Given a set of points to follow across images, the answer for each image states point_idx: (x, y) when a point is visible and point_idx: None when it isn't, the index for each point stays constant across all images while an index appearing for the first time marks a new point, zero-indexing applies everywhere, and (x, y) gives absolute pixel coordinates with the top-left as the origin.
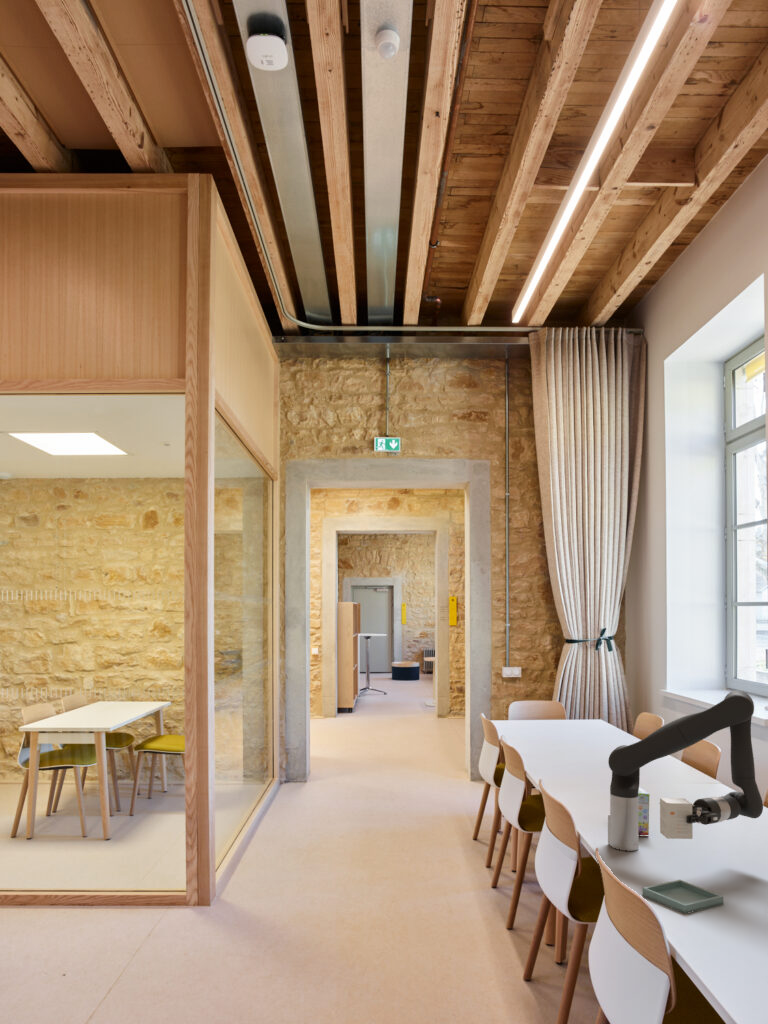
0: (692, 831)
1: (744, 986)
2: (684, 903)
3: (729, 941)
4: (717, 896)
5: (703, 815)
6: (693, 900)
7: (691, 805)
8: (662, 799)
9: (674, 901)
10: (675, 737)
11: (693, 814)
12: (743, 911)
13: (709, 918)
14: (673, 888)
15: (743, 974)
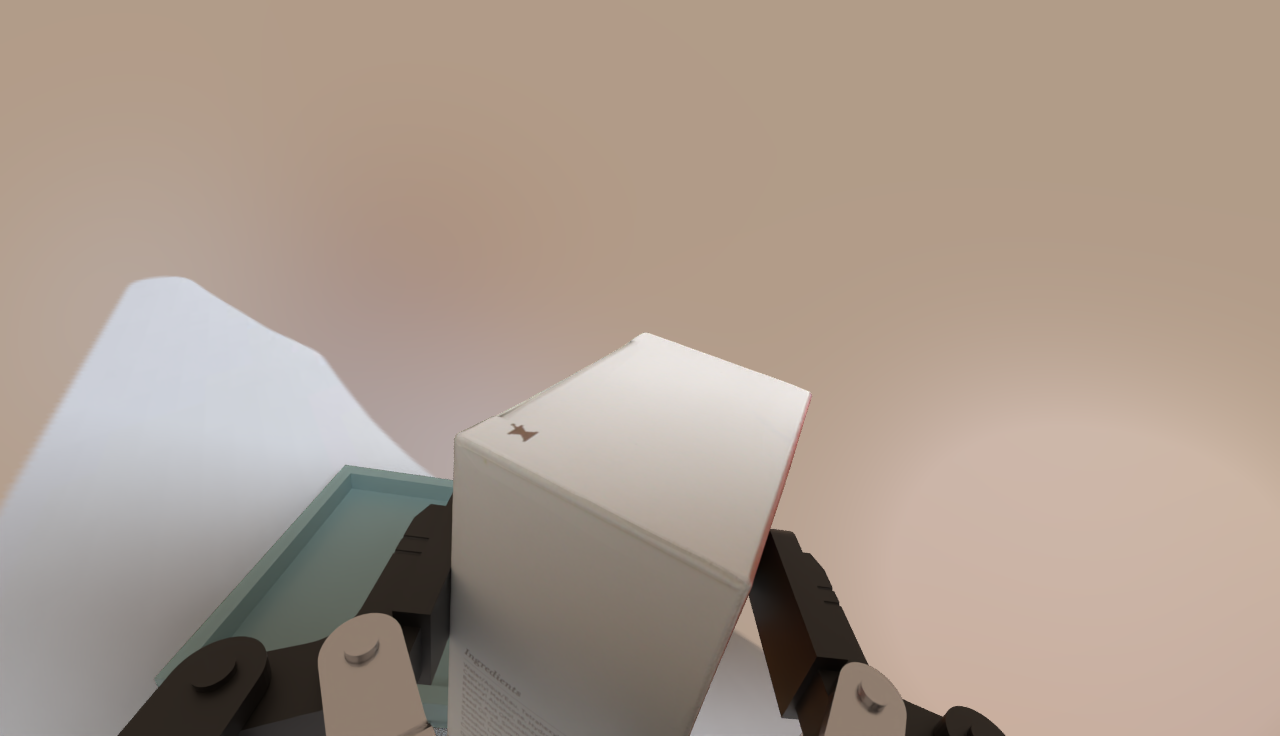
0: (448, 709)
1: (149, 314)
2: (370, 531)
3: (168, 421)
4: (198, 647)
5: (253, 659)
6: (342, 585)
7: (461, 451)
8: (760, 374)
9: (393, 472)
10: None
11: (441, 588)
12: (12, 710)
13: (248, 509)
14: None
15: (144, 336)
